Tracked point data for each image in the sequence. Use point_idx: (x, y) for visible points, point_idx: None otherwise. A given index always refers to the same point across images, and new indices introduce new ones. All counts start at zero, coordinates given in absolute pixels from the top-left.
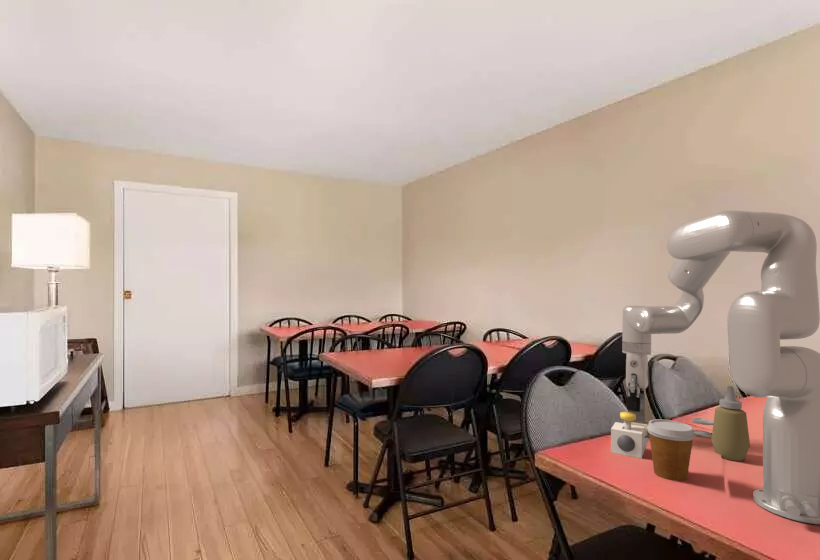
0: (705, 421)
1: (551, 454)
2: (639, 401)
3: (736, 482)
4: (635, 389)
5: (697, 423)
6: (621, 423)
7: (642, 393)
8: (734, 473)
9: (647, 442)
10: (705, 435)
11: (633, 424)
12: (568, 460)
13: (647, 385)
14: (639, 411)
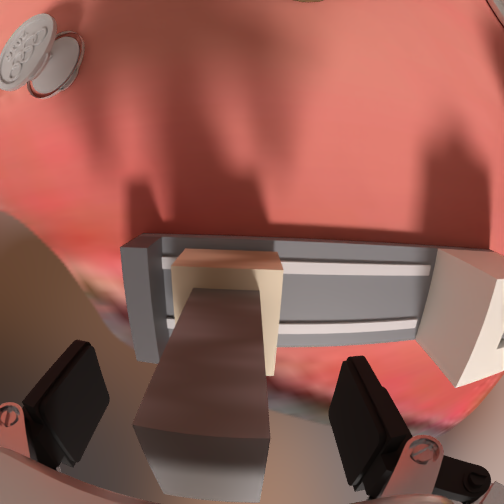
0: (25, 42)
1: (469, 407)
2: (391, 410)
3: (488, 43)
4: (486, 489)
5: (49, 56)
6: (469, 366)
7: (141, 439)
8: (443, 17)
9: (346, 243)
10: (66, 53)
11: (277, 333)
12: (493, 376)
13: (83, 499)
14: (363, 356)
